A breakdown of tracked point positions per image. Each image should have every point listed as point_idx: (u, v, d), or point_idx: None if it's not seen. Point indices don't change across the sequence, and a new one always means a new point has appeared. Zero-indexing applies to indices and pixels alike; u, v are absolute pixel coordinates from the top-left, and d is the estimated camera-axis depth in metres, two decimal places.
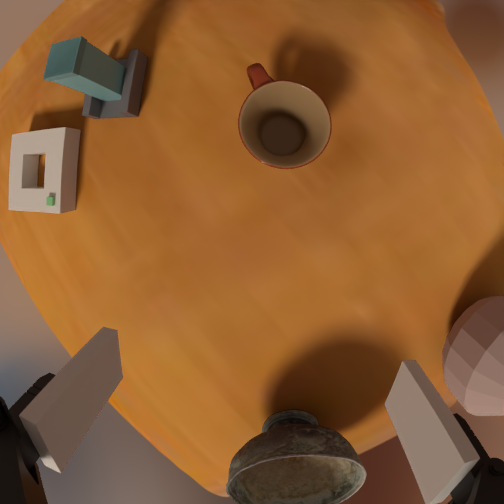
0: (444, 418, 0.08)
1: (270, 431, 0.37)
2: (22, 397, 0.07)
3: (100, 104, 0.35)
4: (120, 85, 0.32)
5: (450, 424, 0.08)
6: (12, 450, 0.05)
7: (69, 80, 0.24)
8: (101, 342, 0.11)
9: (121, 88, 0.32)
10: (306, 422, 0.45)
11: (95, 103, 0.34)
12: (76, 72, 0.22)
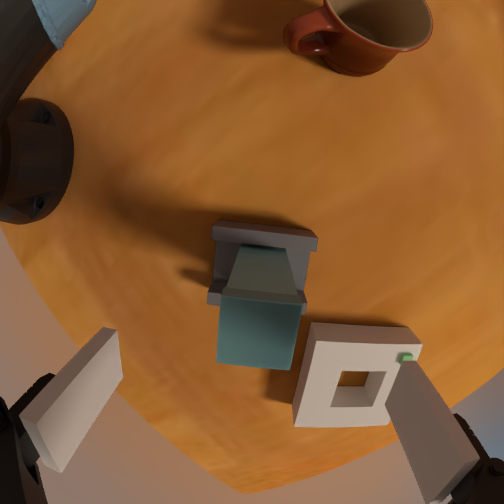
0: (444, 418, 0.08)
1: None
2: (22, 397, 0.07)
3: None
4: (272, 251, 0.26)
5: (450, 424, 0.08)
6: (12, 450, 0.05)
7: None
8: (101, 342, 0.11)
9: (275, 250, 0.26)
10: None
11: None
12: (297, 300, 0.16)
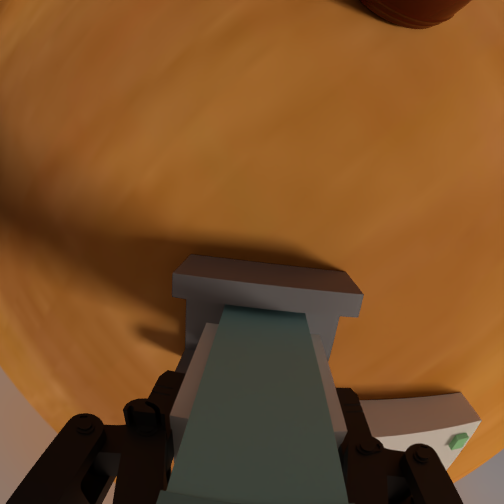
0: None
1: None
2: (149, 398, 0.10)
3: None
4: (282, 319, 0.14)
5: (326, 393, 0.10)
6: (159, 459, 0.06)
7: None
8: (214, 336, 0.13)
9: (287, 315, 0.15)
10: None
11: None
12: None
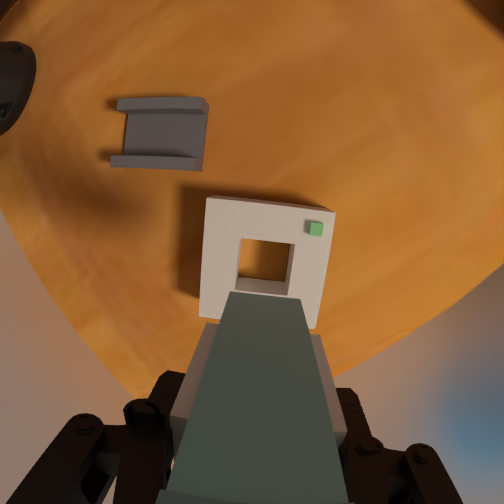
0: None
1: None
2: (149, 398, 0.10)
3: None
4: (281, 320, 0.14)
5: (326, 393, 0.10)
6: (158, 459, 0.06)
7: None
8: (214, 336, 0.13)
9: (287, 316, 0.15)
10: None
11: None
12: None
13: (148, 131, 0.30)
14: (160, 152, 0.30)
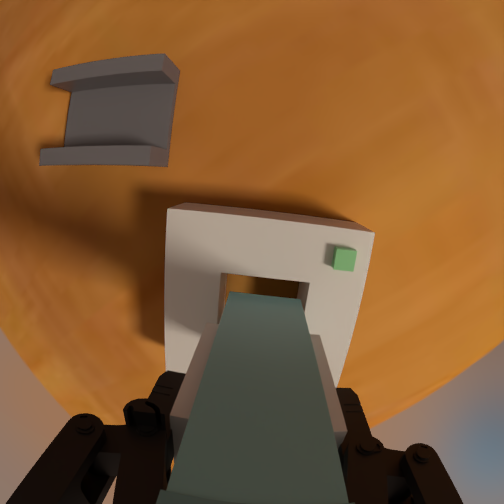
0: None
1: None
2: (148, 398, 0.10)
3: None
4: (281, 320, 0.14)
5: (326, 393, 0.10)
6: (158, 459, 0.06)
7: None
8: (214, 336, 0.13)
9: (287, 317, 0.15)
10: None
11: None
12: None
13: (95, 112, 0.19)
14: (109, 141, 0.19)
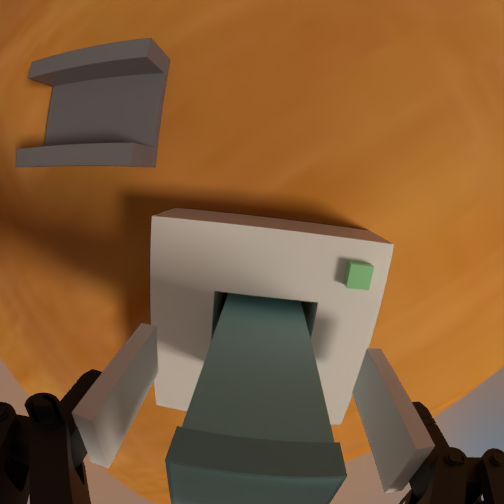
0: (401, 404, 0.09)
1: None
2: (67, 394, 0.09)
3: None
4: (279, 303, 0.16)
5: (406, 410, 0.09)
6: (62, 451, 0.06)
7: None
8: (143, 337, 0.12)
9: (284, 300, 0.17)
10: None
11: None
12: (332, 457, 0.06)
13: (77, 108, 0.16)
14: (91, 139, 0.17)
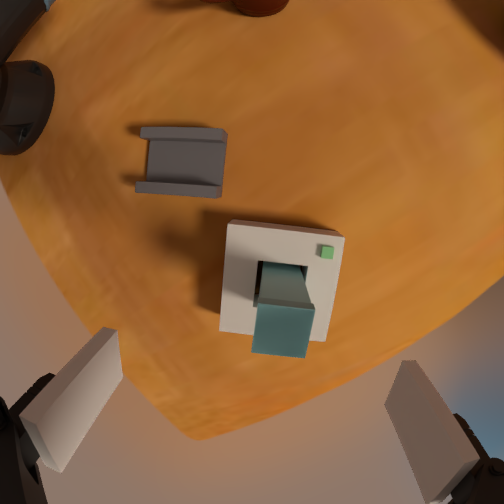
0: (444, 418, 0.08)
1: None
2: (22, 397, 0.07)
3: (203, 184, 0.33)
4: (289, 268, 0.32)
5: (450, 424, 0.08)
6: (12, 450, 0.05)
7: None
8: (101, 342, 0.11)
9: (291, 267, 0.33)
10: None
11: None
12: (311, 306, 0.22)
13: (170, 158, 0.33)
14: (182, 178, 0.33)
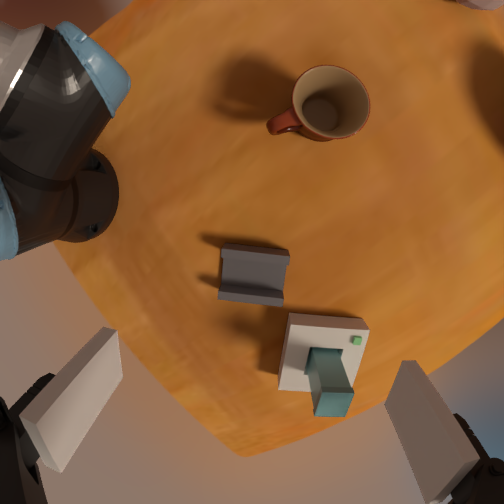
0: (444, 418, 0.08)
1: None
2: (22, 397, 0.07)
3: (269, 290, 0.44)
4: (329, 348, 0.44)
5: (450, 424, 0.08)
6: (12, 450, 0.05)
7: None
8: (101, 342, 0.11)
9: None
10: None
11: (270, 293, 0.43)
12: (351, 390, 0.34)
13: (241, 267, 0.44)
14: (251, 284, 0.44)
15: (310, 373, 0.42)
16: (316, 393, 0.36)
